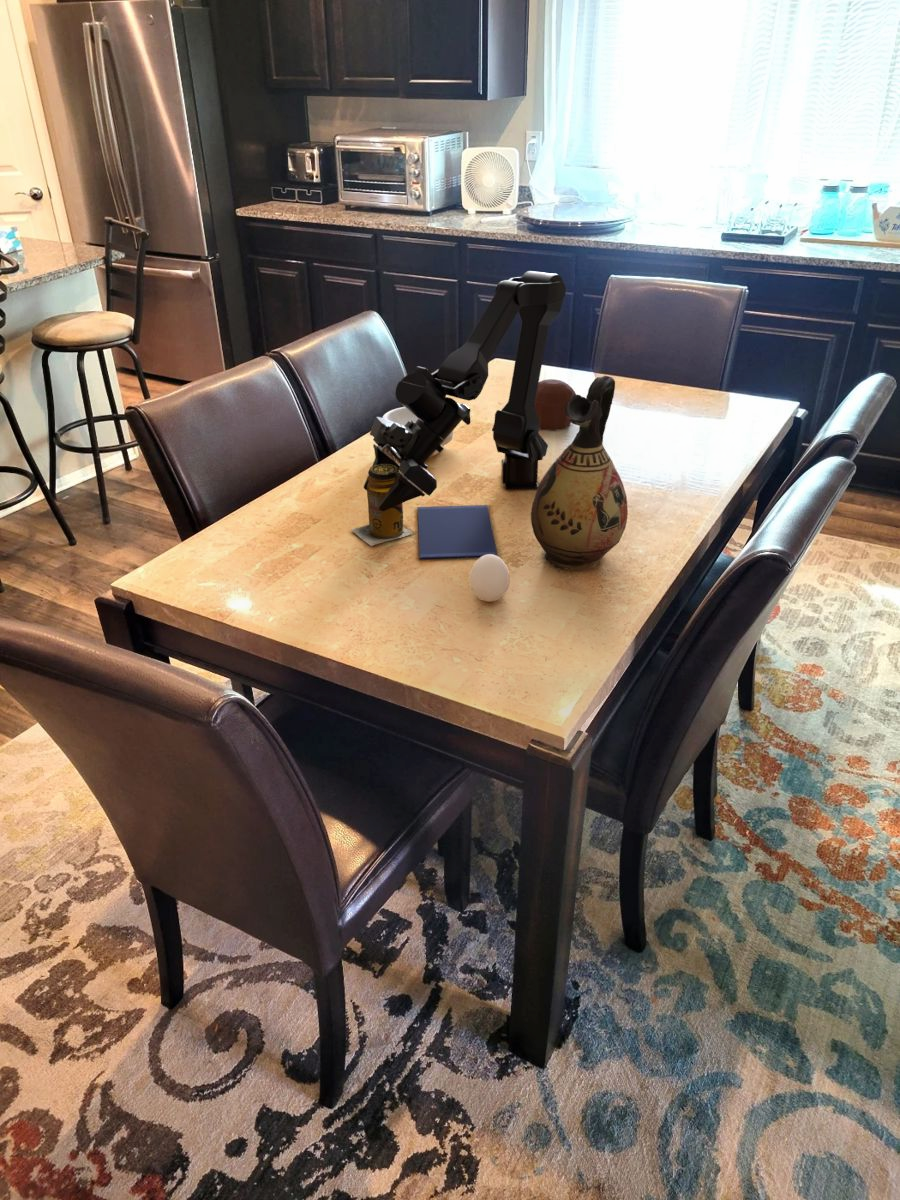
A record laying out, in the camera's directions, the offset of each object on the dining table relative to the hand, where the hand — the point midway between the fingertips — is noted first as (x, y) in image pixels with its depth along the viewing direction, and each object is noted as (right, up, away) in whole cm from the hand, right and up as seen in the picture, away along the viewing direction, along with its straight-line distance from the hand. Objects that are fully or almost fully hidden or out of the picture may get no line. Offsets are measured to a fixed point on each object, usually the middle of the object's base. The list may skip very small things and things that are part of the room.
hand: (372, 499), depth 147 cm
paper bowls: (+7, +15, +38) cm, 41 cm away
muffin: (+37, +23, +51) cm, 67 cm away
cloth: (+14, -5, +4) cm, 16 cm away
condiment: (+1, -6, +4) cm, 7 cm away
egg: (+19, -17, -16) cm, 31 cm away
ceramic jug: (+35, -10, -4) cm, 37 cm away
